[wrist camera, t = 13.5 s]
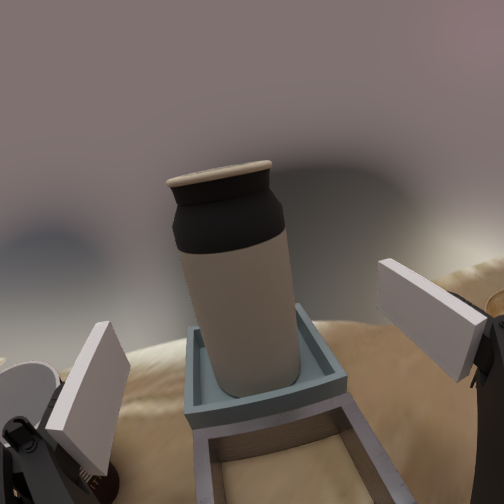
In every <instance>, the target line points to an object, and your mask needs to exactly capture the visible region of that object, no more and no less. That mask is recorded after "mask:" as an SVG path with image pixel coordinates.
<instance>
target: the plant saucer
mask: <svg viewBox="0 0 504 504" xmlns="http://www.w3.org/2000/svg"><path fill="white" fill-rule="evenodd" d="M484 312H486V313H488V314H489V315H491V316H492V317H494V318H495V317H497V316H498V315H504V289H502V290H500V291H497V292H495V293H494V294H492V295H491V296H490V297H489V299H488V300H487V302H486V304H485V310H484Z"/></svg>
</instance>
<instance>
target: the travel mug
mask: <svg viewBox="0 0 504 504" xmlns="http://www.w3.org/2000/svg"><path fill="white" fill-rule="evenodd" d="M271 167H272V162H271V161H268V160H267V161H257V162H250V163H244V164H237V165H232V166H226V167H221V168H215V169H210V170H205V171H201V172H196V173H191V174H187V175H183V176H179V177H175V178H172V179H169V180H167V182H166V184H167V186H168V187H170V188H171V190H172V192H173V194H174V197H175V200H176V203H177V204H178V206H177V210H176V214H175V218H174V222H173V226H172V228H173V232H174V237H175V241H176V245H177V249H178V253H179V257H180V261H181V265H182V268H183V272H184V276H185V279H186V283H187V287H188V290H189V294H190V298H191V301H192V305H193V308H194V312H195V315H196V318H197V322H198V325H199V328H200V332H201V335H202V338H203V341H204V344H205V347H206V351H207V354H208V357H209V360H210V363H211V366H212V369H213V372H214V375H215V378H216V380H217V383H218V385H219V386H220V387H221V388H222V389H223V390H224V391H225V392H227V393H228V394H230V395H232V396H235V397H239V398H243V397H248V396H253V395H257V394H262V393H266V392H270V391H274V390H278V389H282V388H286V387H289V386H290V385H291V384H292V383H293V382H294V381H295V380H296V378H297V377H298V375H299V373H300V369H301V360H300V349H299V339H298V329H297V320H296V310H295V302H294V293H293V284H292V276H291V268H290V260H289V253H288V245H287V237H286V229H285V222H284V215H283V208H282V205H281V203H280V202H279V201H278V199H277V198H276V196H275V195H274V194H273V192H272V191H271V190H270V188H269V171H270V168H271Z"/></svg>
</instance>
